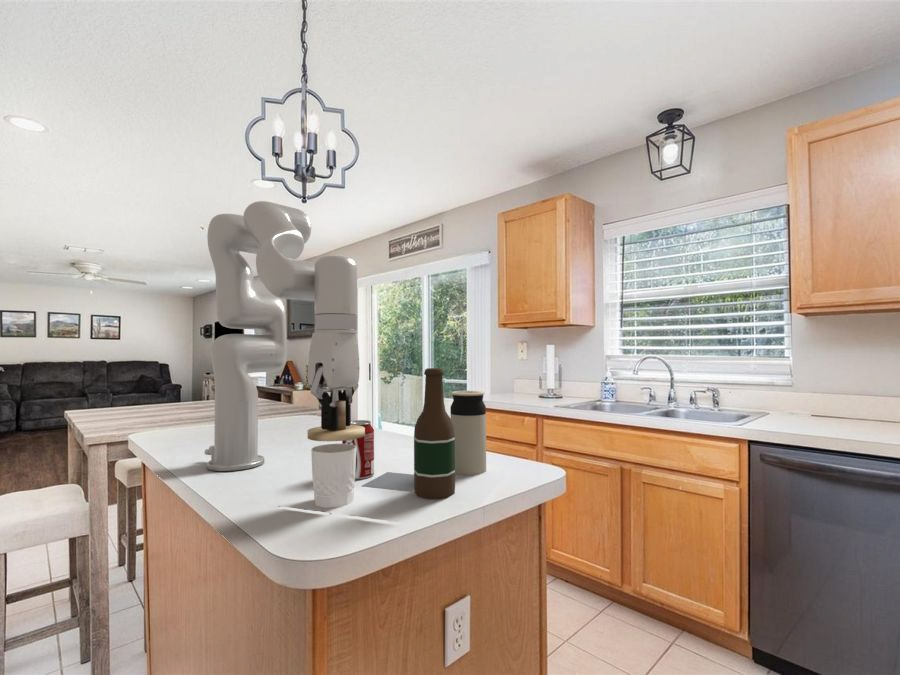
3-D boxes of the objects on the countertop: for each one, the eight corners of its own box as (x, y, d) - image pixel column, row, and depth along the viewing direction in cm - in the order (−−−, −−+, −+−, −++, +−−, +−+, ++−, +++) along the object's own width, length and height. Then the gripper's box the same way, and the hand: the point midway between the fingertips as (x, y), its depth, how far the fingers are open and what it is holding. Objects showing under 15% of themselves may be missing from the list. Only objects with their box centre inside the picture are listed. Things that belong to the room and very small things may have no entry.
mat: (361, 488, 91) (361, 485, 91) (387, 474, 101) (387, 472, 101) (411, 494, 87) (411, 491, 87) (433, 478, 98) (433, 476, 98)
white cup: (362, 506, 81) (362, 449, 81) (317, 514, 77) (317, 454, 77) (348, 494, 87) (348, 441, 88) (306, 501, 84) (306, 446, 84)
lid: (295, 439, 79) (295, 403, 79) (329, 430, 89) (329, 397, 89) (344, 442, 76) (344, 405, 76) (375, 432, 85) (374, 399, 85)
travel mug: (482, 478, 98) (481, 393, 98) (446, 475, 100) (446, 393, 101) (489, 468, 106) (488, 390, 106) (456, 466, 108) (455, 390, 108)
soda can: (377, 473, 102) (377, 419, 102) (369, 482, 95) (369, 424, 95) (348, 473, 102) (348, 419, 103) (337, 482, 96) (337, 424, 96)
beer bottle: (405, 495, 87) (405, 368, 87) (437, 487, 92) (437, 367, 92) (430, 505, 81) (430, 369, 81) (463, 496, 86) (462, 368, 86)
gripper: (343, 328, 92) (343, 420, 91) (288, 323, 76) (288, 434, 76) (376, 327, 89) (377, 421, 89) (326, 322, 74) (326, 436, 73)
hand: (336, 426), depth 82 cm, fingers closed on lid, 3 cm apart
